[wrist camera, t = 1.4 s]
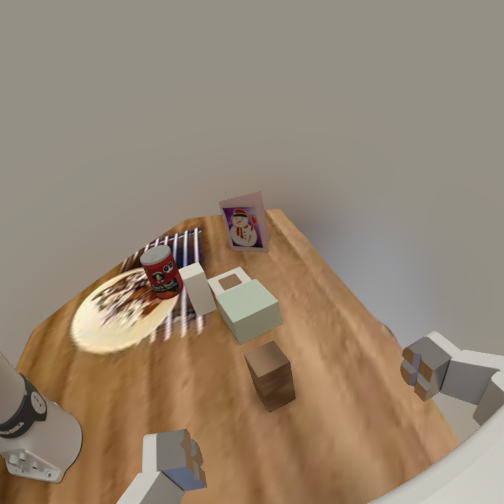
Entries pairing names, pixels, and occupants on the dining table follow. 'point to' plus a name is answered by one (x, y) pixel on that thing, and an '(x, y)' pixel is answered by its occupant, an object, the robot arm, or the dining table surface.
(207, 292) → the offwhite post
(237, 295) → the sage block
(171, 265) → the canned food
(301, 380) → the dining table surface
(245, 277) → the tile
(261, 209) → the greeting card
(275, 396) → the walnut post
